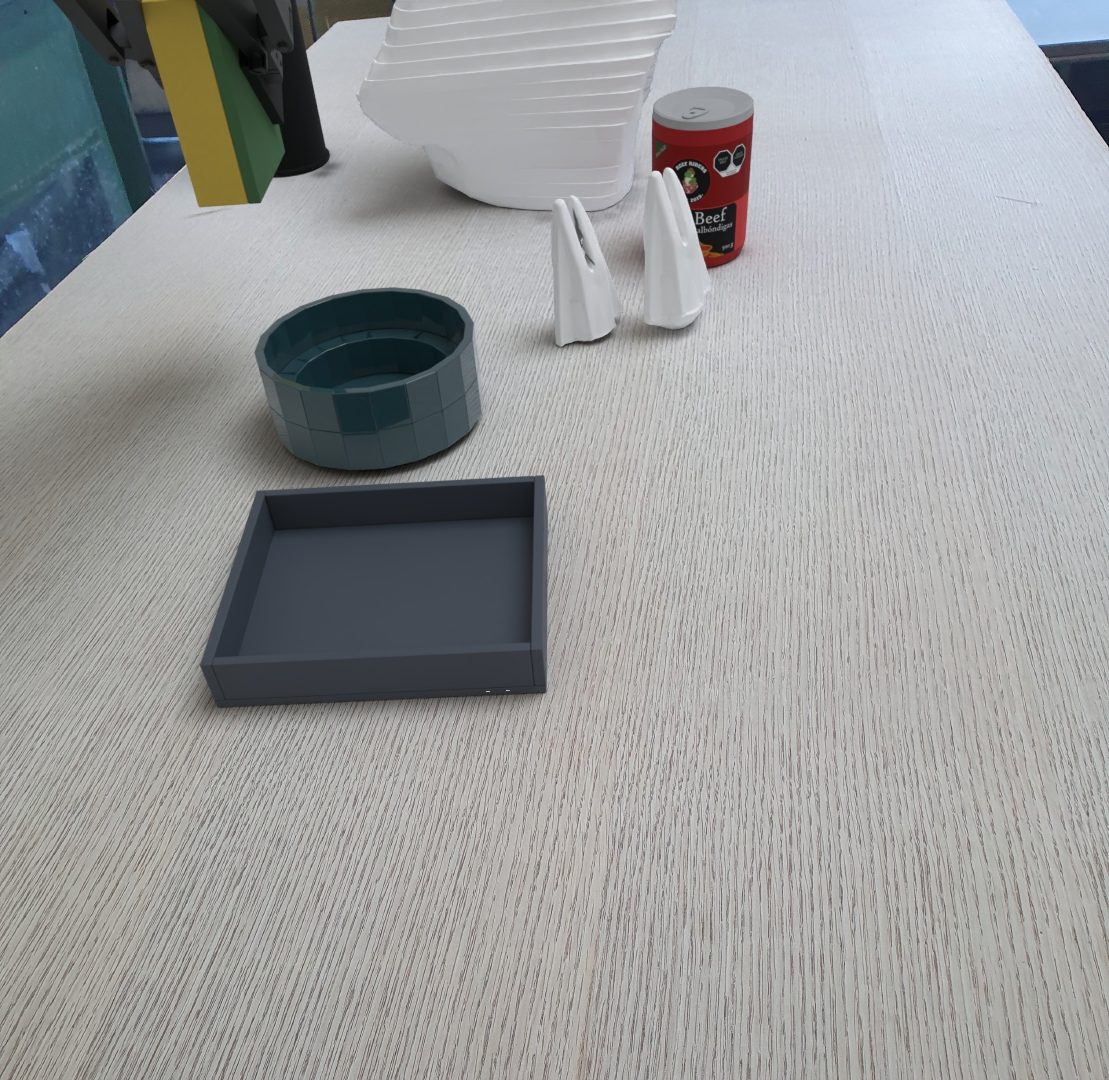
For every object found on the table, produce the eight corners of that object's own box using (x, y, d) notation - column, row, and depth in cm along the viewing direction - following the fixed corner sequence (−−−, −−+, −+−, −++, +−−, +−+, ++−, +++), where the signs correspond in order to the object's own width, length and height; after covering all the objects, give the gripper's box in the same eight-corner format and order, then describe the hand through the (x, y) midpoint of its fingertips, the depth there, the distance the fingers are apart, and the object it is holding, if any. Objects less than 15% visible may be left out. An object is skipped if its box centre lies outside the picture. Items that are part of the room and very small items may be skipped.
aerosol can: (303, 140, 114) (252, -95, 99) (345, 159, 109) (298, -86, 95) (235, 163, 111) (171, -77, 96) (275, 183, 106) (215, -66, 91)
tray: (216, 707, 56) (199, 665, 54) (269, 531, 66) (256, 490, 64) (546, 692, 55) (542, 649, 53) (547, 516, 66) (544, 474, 63)
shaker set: (709, 308, 83) (715, 152, 75) (717, 334, 80) (725, 175, 72) (553, 321, 83) (542, 167, 75) (556, 348, 80) (545, 191, 72)
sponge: (198, 207, 68) (138, 1, 60) (228, 156, 74) (176, -38, 66) (261, 203, 68) (208, -5, 60) (285, 152, 74) (241, -43, 66)
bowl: (261, 483, 70) (235, 399, 66) (296, 373, 80) (276, 294, 75) (478, 471, 69) (467, 386, 65) (487, 362, 79) (478, 281, 75)
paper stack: (672, 215, 95) (679, -162, 76) (373, 223, 98) (308, -138, 79) (677, 130, 109) (683, -206, 90) (415, 139, 112) (369, -184, 93)
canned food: (640, 266, 88) (640, 118, 80) (665, 226, 93) (667, 83, 85) (733, 274, 86) (742, 123, 78) (753, 232, 91) (763, 87, 83)
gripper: (-116, -83, 48) (119, 172, 72) (258, -115, 48) (373, 154, 71) (-127, -255, 48) (112, 57, 71) (249, -290, 47) (366, 37, 71)
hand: (241, 105), depth 71 cm, fingers closed on sponge, 4 cm apart
